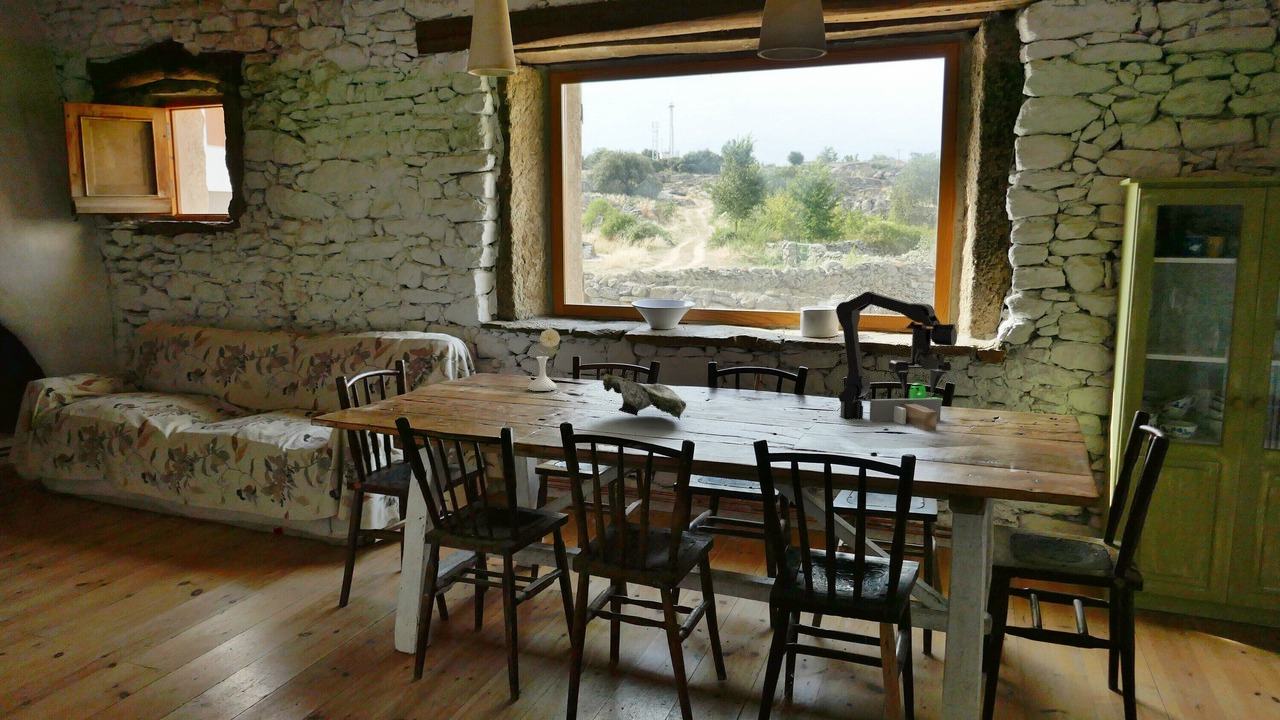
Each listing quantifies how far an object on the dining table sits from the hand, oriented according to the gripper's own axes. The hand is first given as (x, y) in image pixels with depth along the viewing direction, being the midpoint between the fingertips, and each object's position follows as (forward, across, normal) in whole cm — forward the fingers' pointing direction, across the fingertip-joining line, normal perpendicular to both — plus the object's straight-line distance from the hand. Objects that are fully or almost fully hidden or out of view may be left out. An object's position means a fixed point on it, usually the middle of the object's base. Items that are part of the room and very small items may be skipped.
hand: (918, 392), depth 277 cm
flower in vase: (+12, -115, +84) cm, 143 cm away
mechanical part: (+11, +24, +39) cm, 47 cm away
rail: (+11, +1, 0) cm, 11 cm away
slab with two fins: (+11, 0, +6) cm, 13 cm away
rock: (+11, -88, +20) cm, 91 cm away
